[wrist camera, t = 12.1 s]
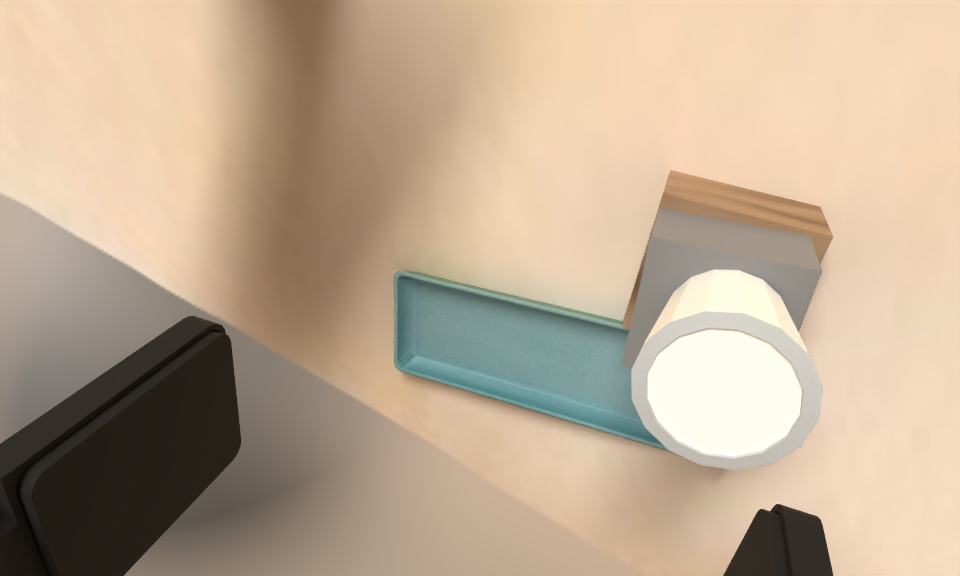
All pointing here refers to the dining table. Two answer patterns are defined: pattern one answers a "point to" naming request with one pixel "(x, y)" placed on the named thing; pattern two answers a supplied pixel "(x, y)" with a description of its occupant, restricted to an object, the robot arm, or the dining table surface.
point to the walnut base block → (737, 214)
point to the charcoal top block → (719, 265)
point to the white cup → (726, 374)
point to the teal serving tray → (517, 352)
